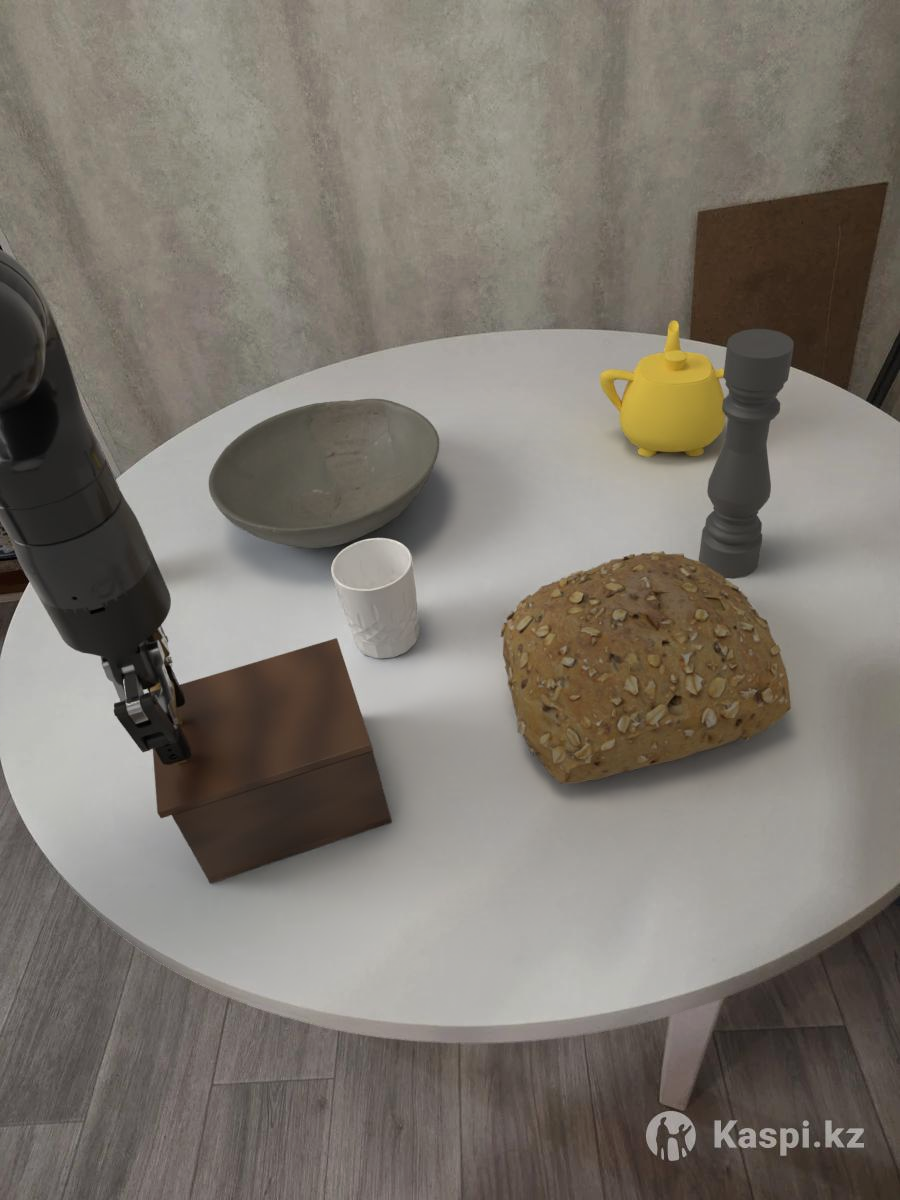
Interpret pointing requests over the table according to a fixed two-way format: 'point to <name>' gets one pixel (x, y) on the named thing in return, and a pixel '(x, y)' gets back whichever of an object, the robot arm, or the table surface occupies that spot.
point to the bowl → (324, 471)
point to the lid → (261, 726)
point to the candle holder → (744, 450)
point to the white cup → (378, 595)
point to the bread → (639, 666)
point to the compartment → (285, 817)
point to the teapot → (669, 400)
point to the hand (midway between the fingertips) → (175, 730)
